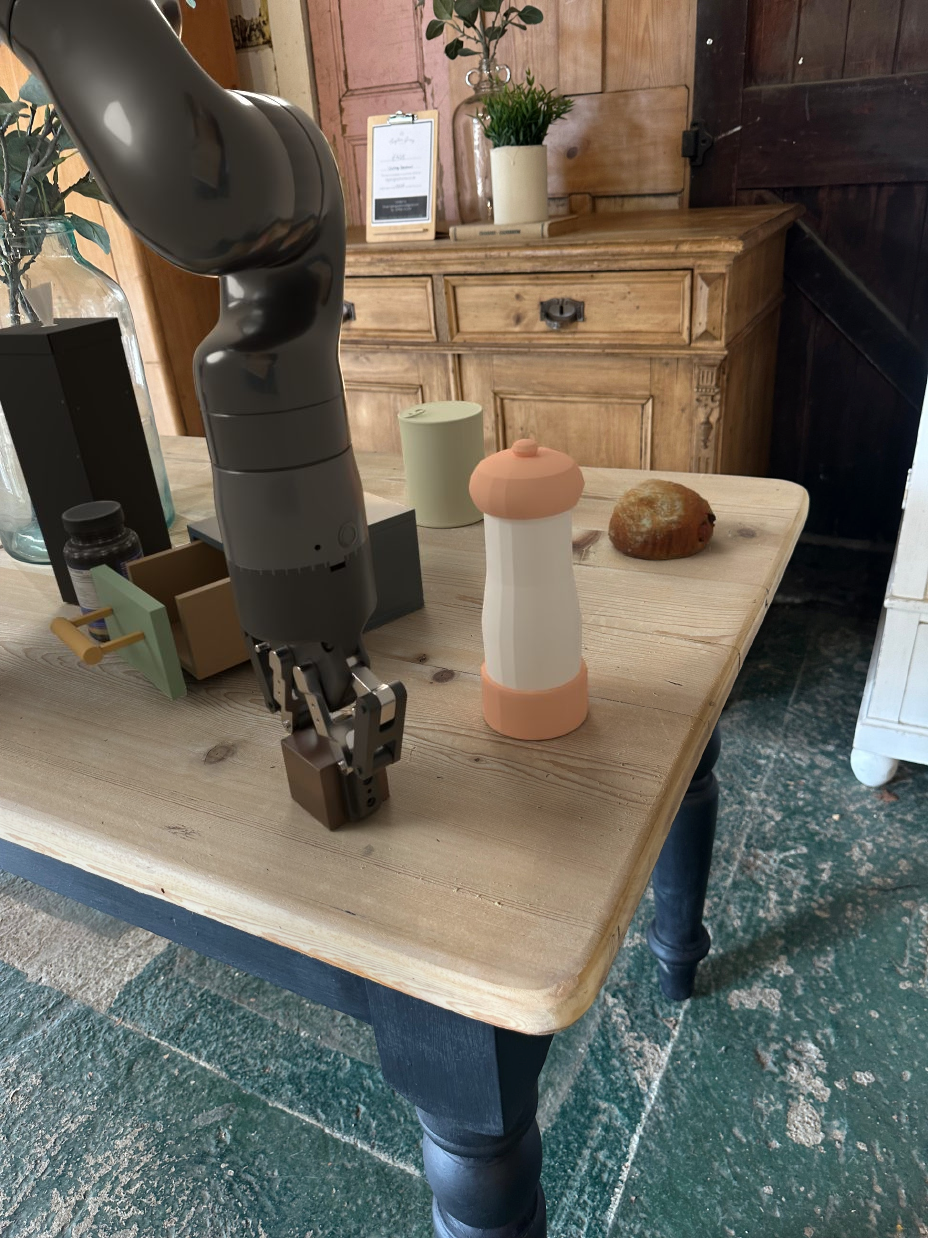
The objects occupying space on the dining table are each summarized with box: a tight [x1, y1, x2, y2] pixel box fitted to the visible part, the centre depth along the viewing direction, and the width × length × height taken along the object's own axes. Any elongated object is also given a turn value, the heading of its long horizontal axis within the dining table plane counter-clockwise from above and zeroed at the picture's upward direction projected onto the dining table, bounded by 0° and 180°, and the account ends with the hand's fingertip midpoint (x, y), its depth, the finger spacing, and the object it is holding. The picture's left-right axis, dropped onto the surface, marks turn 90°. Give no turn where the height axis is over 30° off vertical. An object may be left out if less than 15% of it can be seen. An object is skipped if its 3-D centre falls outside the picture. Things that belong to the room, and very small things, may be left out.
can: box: [397, 400, 486, 529], centre depth 94 cm, size 9×9×12 cm
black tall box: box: [0, 281, 173, 606], centre depth 77 cm, size 8×8×28 cm
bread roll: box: [607, 478, 717, 561], centre depth 84 cm, size 10×10×8 cm
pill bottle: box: [62, 501, 144, 642], centre depth 74 cm, size 6×6×11 cm
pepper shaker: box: [469, 438, 589, 741], centre depth 56 cm, size 7×7×19 cm
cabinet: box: [186, 490, 426, 635], centre depth 74 cm, size 15×13×9 cm
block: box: [279, 710, 391, 832], centre depth 52 cm, size 4×4×4 cm
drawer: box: [49, 540, 251, 701], centre depth 68 cm, size 18×11×7 cm, turn 131°
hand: (340, 793), depth 53 cm, fingers closed on block, 4 cm apart
